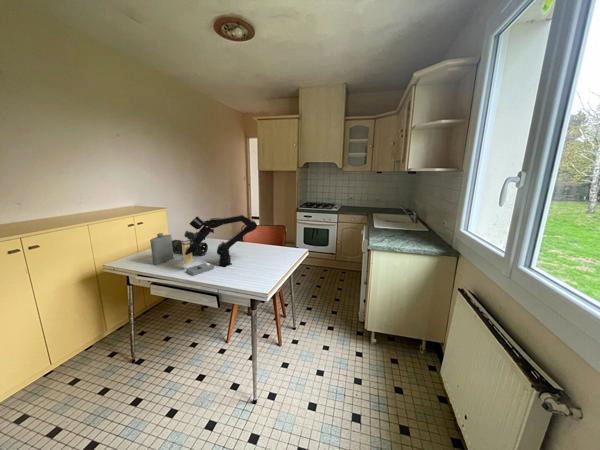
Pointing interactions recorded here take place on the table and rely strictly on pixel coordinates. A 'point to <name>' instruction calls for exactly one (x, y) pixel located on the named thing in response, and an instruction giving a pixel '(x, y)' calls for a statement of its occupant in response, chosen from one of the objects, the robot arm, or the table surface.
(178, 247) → the muzzle brake
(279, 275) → the table surface
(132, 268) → the table surface
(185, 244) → the plug
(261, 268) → the table surface
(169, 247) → the flask
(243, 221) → the robot arm
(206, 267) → the bar
